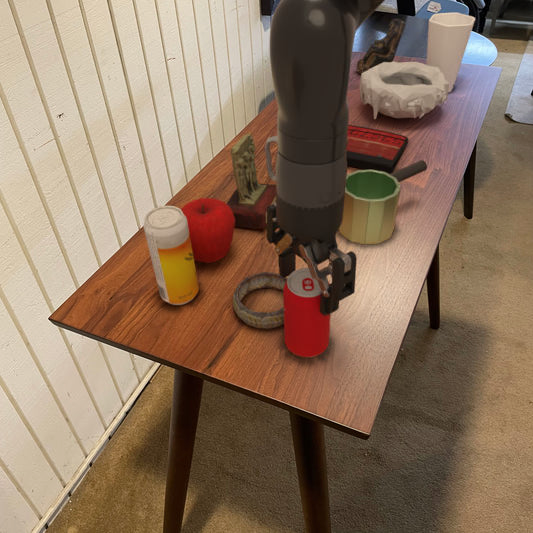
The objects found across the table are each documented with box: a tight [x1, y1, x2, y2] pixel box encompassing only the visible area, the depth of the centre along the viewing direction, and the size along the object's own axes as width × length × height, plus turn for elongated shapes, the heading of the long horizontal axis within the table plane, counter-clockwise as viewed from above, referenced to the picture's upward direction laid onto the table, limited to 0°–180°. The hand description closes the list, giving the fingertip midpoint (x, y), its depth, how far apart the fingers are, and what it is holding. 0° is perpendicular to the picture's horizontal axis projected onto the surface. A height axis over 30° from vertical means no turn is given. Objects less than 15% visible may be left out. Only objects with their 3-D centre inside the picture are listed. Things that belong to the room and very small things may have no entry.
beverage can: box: [282, 267, 332, 358], centre depth 68 cm, size 6×6×12 cm
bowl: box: [358, 61, 449, 120], centre depth 122 cm, size 21×20×10 cm
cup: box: [425, 12, 476, 93], centre depth 130 cm, size 11×10×17 cm
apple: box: [180, 197, 236, 264], centre depth 84 cm, size 10×10×11 cm
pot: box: [338, 159, 428, 245], centre depth 90 cm, size 18×10×9 cm, turn 125°
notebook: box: [346, 124, 409, 174], centre depth 113 cm, size 16×2×21 cm
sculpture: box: [226, 133, 276, 230], centre depth 91 cm, size 10×8×15 cm
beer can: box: [142, 205, 200, 306], centre depth 76 cm, size 6×6×15 cm
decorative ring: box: [232, 271, 288, 330], centre depth 77 cm, size 10×3×10 cm
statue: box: [355, 18, 406, 74], centre depth 139 cm, size 6×12×15 cm, turn 67°
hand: (306, 292), depth 66 cm, fingers open, 8 cm apart
